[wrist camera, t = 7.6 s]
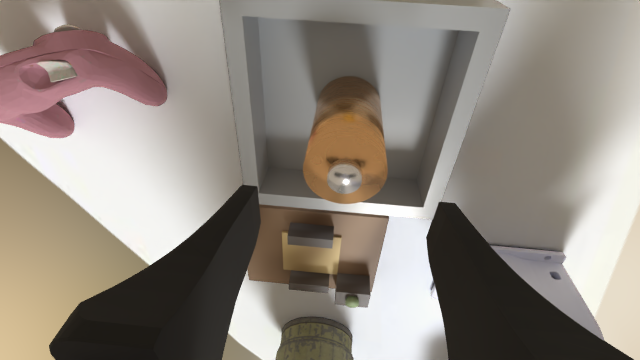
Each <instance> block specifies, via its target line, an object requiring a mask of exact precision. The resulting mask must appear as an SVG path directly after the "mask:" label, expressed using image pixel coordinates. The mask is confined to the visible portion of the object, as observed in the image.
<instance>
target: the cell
mask: <svg viewBox="0 0 640 360" xmlns="http://www.w3.org/2000/svg"><path fill="white" fill-rule="evenodd" d="M303 174H304V178H305V181H306V183H307V185H308V186H309V187H310V189H311V190H312V191H313V192H314V193H315V194H317V195H318V196H320V197H321V198H323V199H325V200H328V201H330V202H334V203H339V204H353V203H359V202H362V201H365V200H367V199H369V198H371V197H373V196H374V195H375V194H377V193H378V192H379V191H380V190H381V188H382V187H383V186H384V184H385V182H386V179H387V174H388V168H387V158H386V149H385V140H384V130H383V121H382V111H381V102H380V97H379V94H378V92H377V91H376V89H375V88H374V87H373V85H371V84H370V83H369V82H368V81H366V80H364V79H362V78H359V77H355V76H344V77H340V78H337V79H335V80H333V81H331V82H330V83H328V84H327V85H326V86H325V87H324V88H323V90H322V91H321V93H320V95H319V99H318V103H317V107H316V112H315V116H314V120H313V125H312V129H311V133H310V138H309V142H308V147H307V151H306V155H305V160H304V164H303Z"/></svg>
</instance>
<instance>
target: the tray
mask: <svg viewBox="0 0 640 360" xmlns="http://www.w3.org/2000/svg"><path fill="white" fill-rule="evenodd" d="M219 2H220V10H221V17H222V25H223V32H224V40H225V48H226V55H227V63H228V70H229V78H230V86H231V93H232V101H233V109H234V116H235V124H236V131H237V139H238V147H239V154H240V162H241V169H242V177H243V185H250V186H257V187H258V197H259V204H262V205H273V206H285V207H296V208H307V209H318V210H330V211H341V212H352V213H364V214H375V215H386V216H397V217H409V218H420V219H431V220H433V217H434V215H435V212H436V209H437V206H438V203H439V202H441V201H442V198H443V195H444V192H445V190H446V187H447V184H448V181H449V179H450V176H451V173H452V170H453V167H454V165H455V162H456V159H457V156H458V154H459V151H460V148H461V145H462V142H463V140H464V137H465V134H466V131H467V129H468V126H469V123H470V120H471V117H472V115H473V112H474V109H475V106H476V103H477V101H478V98H479V95H480V92H481V90H482V87H483V84H484V81H485V78H486V76H487V73H488V70H489V67H490V65H491V62H492V59H493V56H494V53H495V51H496V48H497V45H498V42H499V40H500V37H501V34H502V31H503V28H504V26H505V23H506V20H507V17H508V15H509V12H510V8H508V7H506V6H505V5H503V4H501V3H500V2H498V1H496V0H219ZM344 76H355V77H359V78H362V79H364V80H366V81H368V82H369V83H370V84H371V85H373V87H374V88H375V89H376V91H377V92H378V94H379V97H380V102H381V111H382V121H383V130H384V140H385V149H386V158H387V168H388V174H387V179H386V182H385V184H384V186H383V187H382V188H381V190H380V191H379V192H378V193H377V194H375V195H374V196H373V197H371V198H369V199H367V200H365V201H362V202H359V203H353V204H339V203H334V202H330V201H328V200H325V199H323V198H321V197H320V196H318V195H317V194H315V193H314V192H313V191H312V190H311V189H310V187H309V186H308V185H307V183H306V181H305V178H304V174H303V164H304V160H305V155H306V151H307V147H308V142H309V138H310V133H311V129H312V125H313V120H314V116H315V112H316V107H317V103H318V99H319V95H320V93H321V91H322V90H323V88H324V87H325V86H326V85H327V84H328V83H330V82H331V81H333V80H335V79H337V78H340V77H344Z"/></svg>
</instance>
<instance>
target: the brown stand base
mask: <svg viewBox="0 0 640 360" xmlns="http://www.w3.org/2000/svg"><path fill="white" fill-rule="evenodd" d="M259 207H260V217H261V225H260V229H259V234H258V238H257V242H256V246H255V249H254V252H253V254H252V257H251V260H250V263H249V265H248V275H249V280H254V281H264V282H274V283H285V284H289V289H291V290H301V291H311V292H322V293H328V288H336V290H335V304H337V305H346V306H348V307H351V308H354V307H368V303H369V299H370V292H372V287H373V283H374V279H375V275H376V271H377V266H378V262H379V258H380V254H381V250H382V245H383V241H384V237H385V233H386V229H387V224H388V220H389V216H386V215H375V214H364V213H352V212H341V211H330V210H318V209H307V208H296V207H285V206H273V205H262V204H259Z"/></svg>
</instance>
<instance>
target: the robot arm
mask: <svg viewBox="0 0 640 360" xmlns="http://www.w3.org/2000/svg"><path fill="white" fill-rule="evenodd" d="M260 225H261V217H260V207H259V197H258V187H257V186H250V185H242V186H240V187H239V189H238V190H237V191H236V192H235V193H234V194H233V195H232V196H231V197H230V198H229V199H228V201H227V202H226V203H225V204H224V205H223V206H222V207H221V208H220V209H219V210H218V211H217V212H216V213H215V214H214V215H213V216H212V217H211V218H210V219H209V220H208V221H207V222H206V223H204V224H203V225H202V226H201V227H200V228H199V229H198V230H197V231H196V232H194V233H193V234H192V235H191V236H190V237H189V238H187V239H186V240H185V241H184V242H182V243H181V244H180V245H179V246H177V247H176V248H175V249H173V250H172V251H171V252H169V253H168V254H166V255H165V256H164V257H162V258H161V259H159V260H158V261H156V262H155V263H153V264H152V265H150V266H149V267H147V268H145V269H144V270H142V271H140V272H139V273H137V274H135V275H134V276H132V277H130V278H128V279H126V280H125V281H123V282H121V283H119V284H117V285H115V286H114V287H112V288H110V289H108V290H105V291H103V292H101V293H99V294H97V295H96V296H93V297H91V298H89V299H87V300H85V301H83V302H81V303H80V304H79V305H78V306H77V307H76V309H75V310H74V311H73V312H72V314H71V315H70V316H69V318H68V319H67V321H66V322H65V324H64V325H63V326H62V328H61V329H60V331H59V332H58V333H57V335H56V336H55V338H54V339H53V341H52V342H51V343H50V345H49V348H50V352H51V355H52V356H53V357H54V358H55V360H222V356H223V351H224V347H225V342H226V339H227V334H228V330H229V326H230V322H231V318H232V314H233V310H234V306H235V302H236V299H237V296H238V293H239V290H240V287H241V285H242V282H243V279H244V276H245V274H246V271H247V268H248V265H249V263H250V260H251V257H252V254H253V252H254V249H255V246H256V242H257V238H258V234H259V229H260ZM426 238H427V249H428V257H429V263H430V268H431V272H432V276H433V280H434V286H433V289H432V291H431V297H432V298H435V299H438V300H439V304H440V308H441V312H442V317H443V322H444V328H445V335H446V342H447V349H448V358H449V360H634V359H632V358H631V357H629V356H627V355H626V354H624V353H623V352H621V351H619V350H618V349H616V348H615V347H613V346H611V345H610V344H608V343H607V342H605V341H604V338H603V335H602V332H601V330H600V327H599V326H598V324H597V322H596V320H595V318H594V317H593V315H592V313H591V312H590V310H589V308H588V307H587V305H586V303H585V302H584V300H583V298H582V297H581V295H580V293H579V292H578V290H577V288H576V287H575V285H574V283H573V282H572V280H571V278H570V277H569V275H568V273H567V271H566V270H565V268H564V266H563V265H562V263H563V262H564V260H565V259H566V256H565V254H564V253H563V252H556V251H545V250H534V249H523V248H512V247H501V246H490V245H489V244H488V243H487V242H486V241H485V239H484V238H483V237H482V236H481V235H480V234H479V232H478V231H477V230H476V229H475V228H474V226H473V225H472V224H471V223H470V221H469V220H468V219H467V218H466V216H465V215H464V214H463V213H462V211H461V210H460V209H459V208H458V207H457V205H456V204H455V203H446V202H439V203H438V206H437V209H436V212H435V215H434V217H433V220H432V223H431V226H430V229H429V231H428V234H427V237H426Z"/></svg>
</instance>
